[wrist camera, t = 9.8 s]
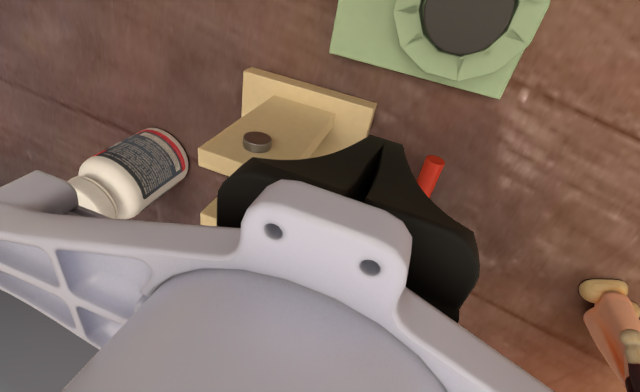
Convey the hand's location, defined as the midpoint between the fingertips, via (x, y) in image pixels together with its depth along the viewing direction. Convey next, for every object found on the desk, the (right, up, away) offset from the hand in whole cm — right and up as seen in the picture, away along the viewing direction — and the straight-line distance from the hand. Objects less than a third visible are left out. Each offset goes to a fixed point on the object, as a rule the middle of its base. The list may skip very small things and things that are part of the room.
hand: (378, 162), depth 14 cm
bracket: (-3, +3, +12) cm, 13 cm away
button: (+5, +8, +3) cm, 9 cm away
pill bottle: (-16, +2, +18) cm, 24 cm away
